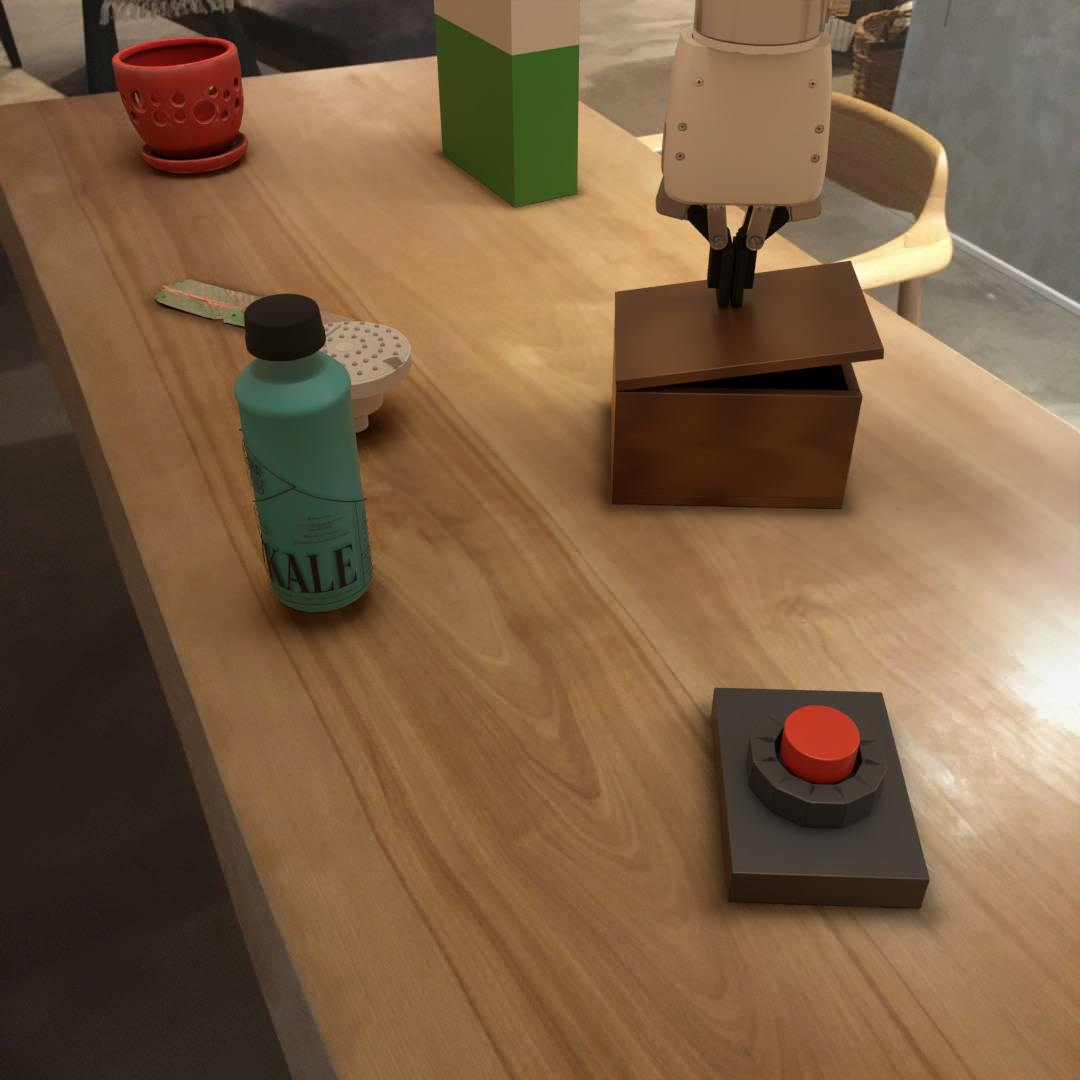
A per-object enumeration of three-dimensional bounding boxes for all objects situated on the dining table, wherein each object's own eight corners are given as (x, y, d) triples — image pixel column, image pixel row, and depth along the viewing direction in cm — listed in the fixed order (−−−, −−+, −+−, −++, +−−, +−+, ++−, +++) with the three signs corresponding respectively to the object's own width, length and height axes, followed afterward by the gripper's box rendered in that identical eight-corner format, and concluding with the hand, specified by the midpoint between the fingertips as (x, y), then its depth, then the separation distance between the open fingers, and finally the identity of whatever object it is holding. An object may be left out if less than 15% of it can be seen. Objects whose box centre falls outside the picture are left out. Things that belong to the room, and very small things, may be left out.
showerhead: (361, 387, 79) (248, 350, 83) (372, 476, 83) (264, 437, 87) (442, 329, 85) (333, 298, 89) (447, 415, 90) (343, 381, 94)
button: (776, 728, 59) (780, 703, 58) (848, 730, 59) (853, 705, 58) (784, 783, 56) (788, 759, 55) (860, 786, 56) (866, 761, 55)
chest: (816, 410, 90) (833, 305, 84) (842, 508, 80) (863, 396, 74) (611, 406, 90) (615, 302, 85) (611, 503, 80) (615, 392, 75)
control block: (710, 715, 65) (716, 662, 62) (875, 720, 65) (888, 667, 62) (727, 901, 55) (735, 848, 53) (921, 908, 55) (938, 855, 53)
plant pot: (270, 142, 137) (253, 33, 129) (230, 185, 127) (210, 69, 119) (163, 137, 138) (141, 30, 131) (115, 179, 128) (88, 65, 121)
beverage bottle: (342, 552, 76) (302, 265, 64) (399, 604, 72) (369, 308, 60) (252, 594, 73) (192, 300, 61) (307, 651, 69) (255, 348, 57)
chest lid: (851, 270, 83) (851, 260, 82) (884, 359, 73) (884, 347, 72) (615, 301, 85) (614, 291, 84) (616, 391, 75) (615, 380, 75)
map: (182, 284, 109) (179, 274, 108) (365, 320, 101) (364, 310, 100) (144, 306, 105) (141, 296, 105) (331, 346, 97) (329, 336, 96)
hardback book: (442, 153, 133) (429, -82, 119) (500, 142, 136) (494, -90, 121) (514, 207, 121) (510, -49, 106) (577, 193, 124) (580, -58, 109)
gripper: (875, -3, 72) (830, 275, 83) (630, -6, 73) (618, 271, 84) (899, 31, 66) (847, 325, 77) (632, 28, 67) (619, 320, 78)
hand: (728, 296), depth 81 cm, fingers closed
